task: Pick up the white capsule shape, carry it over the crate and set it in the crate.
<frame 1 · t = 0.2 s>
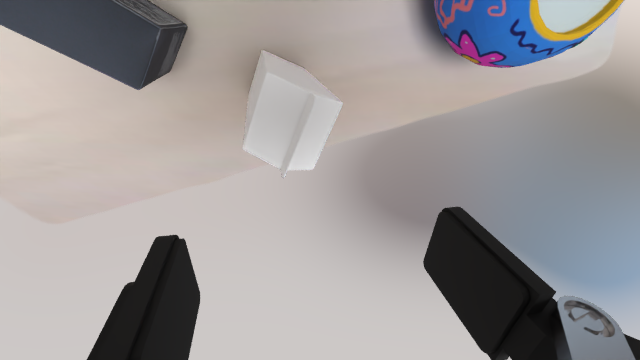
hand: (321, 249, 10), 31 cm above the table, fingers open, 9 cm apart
small box: (130, 23, 30), on the table
milk: (276, 81, 36), on the table
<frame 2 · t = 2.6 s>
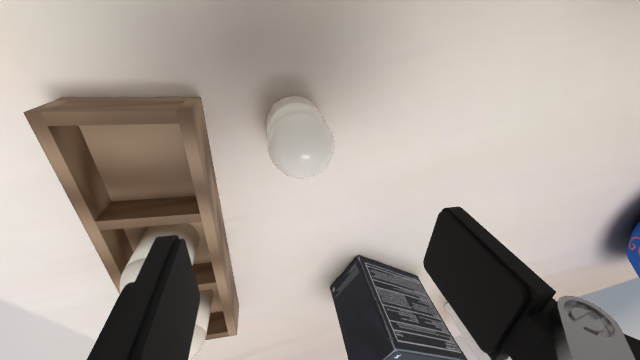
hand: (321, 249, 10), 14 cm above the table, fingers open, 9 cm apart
egg middle: (172, 238, 24), point 1 cm above the table, touching crate
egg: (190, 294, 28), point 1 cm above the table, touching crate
small box: (373, 280, 34), on the table
white capsule shape: (294, 123, 21), on the table
crate: (175, 232, 24), on the table
milk: (468, 294, 40), on the table
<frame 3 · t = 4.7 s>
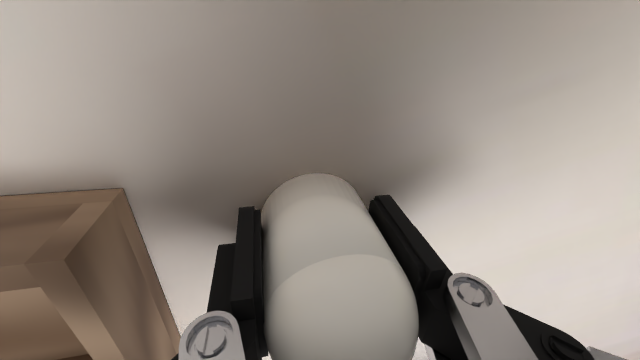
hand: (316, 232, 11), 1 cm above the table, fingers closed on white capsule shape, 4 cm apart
white capsule shape: (312, 217, 12), on the table, touching gripper
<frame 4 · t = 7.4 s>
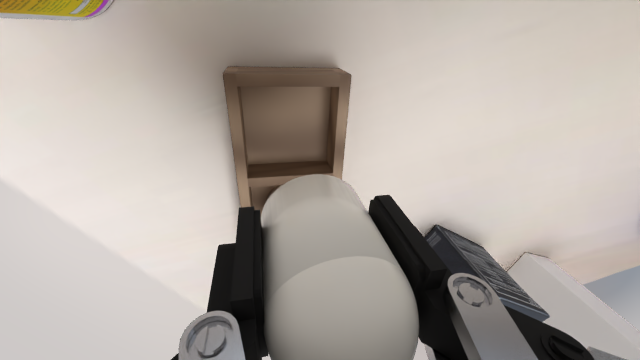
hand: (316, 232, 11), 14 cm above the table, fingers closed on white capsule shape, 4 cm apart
small box: (443, 251, 36), on the table
white capsule shape: (312, 218, 12), point 13 cm above the table, touching gripper
crate: (288, 197, 27), on the table
milk: (522, 267, 42), on the table
when the fingers open (4 cm above the table, at t = 9.9 s): white capsule shape drops 2 cm, resting on crate.
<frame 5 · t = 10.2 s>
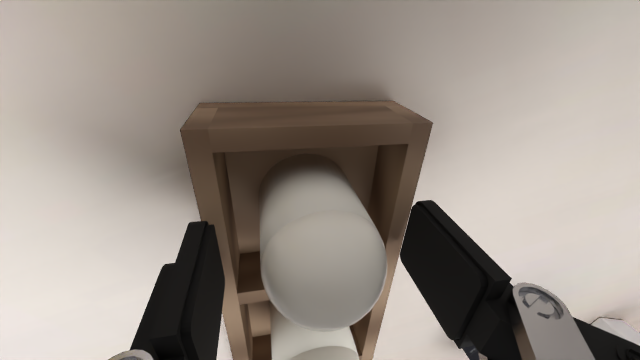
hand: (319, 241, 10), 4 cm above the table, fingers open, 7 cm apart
egg middle: (303, 295, 17), point 1 cm above the table, touching crate
white capsule shape: (304, 194, 13), point 1 cm above the table, touching crate
crate: (302, 285, 18), on the table
milk: (591, 331, 34), on the table
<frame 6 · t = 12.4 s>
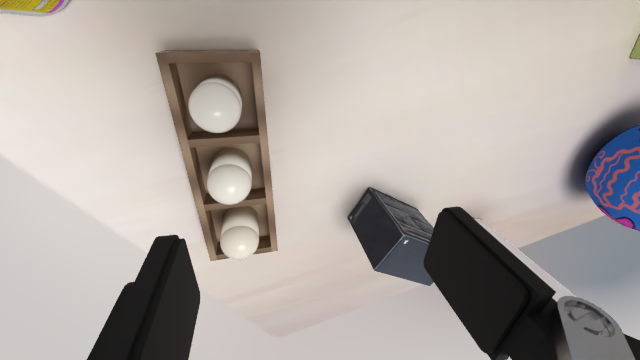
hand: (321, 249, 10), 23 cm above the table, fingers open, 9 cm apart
egg middle: (232, 165, 31), point 1 cm above the table, touching crate
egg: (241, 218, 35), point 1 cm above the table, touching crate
ceramic pot: (605, 156, 47), on the table
small box: (382, 213, 42), on the table
white capsule shape: (220, 97, 27), point 1 cm above the table, touching crate
crate: (232, 162, 32), on the table
milk: (460, 229, 48), on the table
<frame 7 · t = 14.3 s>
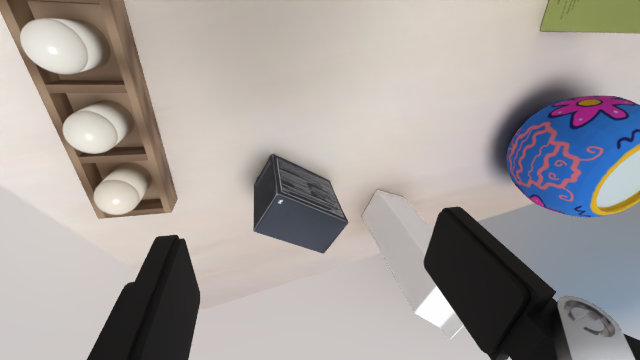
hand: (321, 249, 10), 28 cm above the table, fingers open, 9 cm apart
egg middle: (112, 119, 31), point 1 cm above the table, touching crate
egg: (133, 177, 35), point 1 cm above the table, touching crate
ceramic pot: (530, 137, 47), on the table
small box: (292, 183, 41), on the table
white capsule shape: (85, 44, 27), point 1 cm above the table, touching crate
crate: (115, 117, 32), on the table
milk: (382, 206, 47), on the table
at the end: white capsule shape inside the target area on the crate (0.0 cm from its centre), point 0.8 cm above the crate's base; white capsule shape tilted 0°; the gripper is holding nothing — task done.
